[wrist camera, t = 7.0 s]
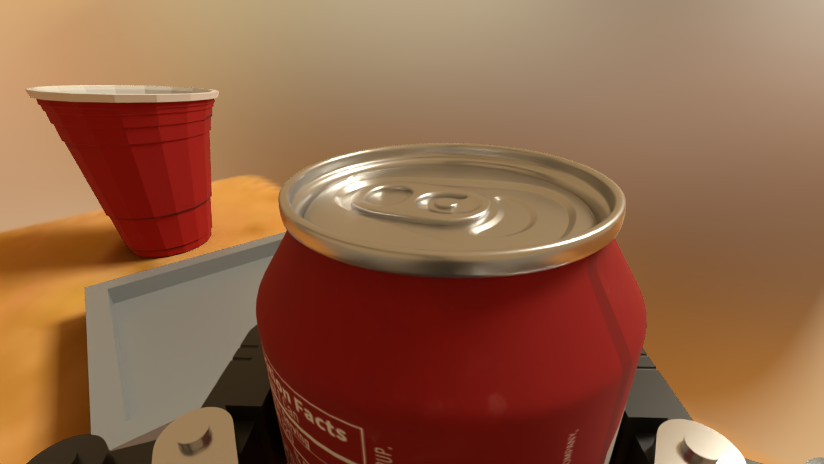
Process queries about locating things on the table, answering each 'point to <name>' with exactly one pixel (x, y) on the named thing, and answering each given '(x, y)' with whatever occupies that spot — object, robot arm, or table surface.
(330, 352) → the soda can
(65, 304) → the table surface
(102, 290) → the serving tray
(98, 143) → the plastic cup
